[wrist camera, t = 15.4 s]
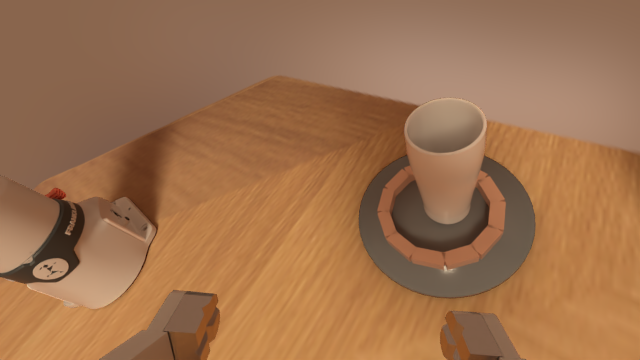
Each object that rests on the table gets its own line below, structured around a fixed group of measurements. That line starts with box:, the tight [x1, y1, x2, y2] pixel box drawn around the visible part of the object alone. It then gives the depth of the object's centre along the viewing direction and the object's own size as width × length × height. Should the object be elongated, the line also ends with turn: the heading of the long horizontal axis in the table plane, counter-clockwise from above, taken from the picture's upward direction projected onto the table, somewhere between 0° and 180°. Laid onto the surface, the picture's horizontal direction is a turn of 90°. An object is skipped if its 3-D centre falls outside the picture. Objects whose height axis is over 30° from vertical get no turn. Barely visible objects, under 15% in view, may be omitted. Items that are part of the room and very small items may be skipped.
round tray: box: [359, 155, 535, 298], centre depth 37 cm, size 20×20×2 cm
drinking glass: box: [404, 98, 487, 224], centre depth 32 cm, size 7×7×15 cm
